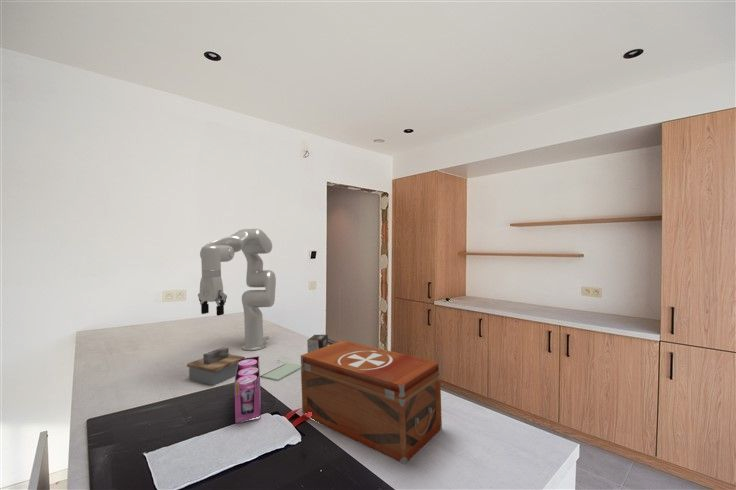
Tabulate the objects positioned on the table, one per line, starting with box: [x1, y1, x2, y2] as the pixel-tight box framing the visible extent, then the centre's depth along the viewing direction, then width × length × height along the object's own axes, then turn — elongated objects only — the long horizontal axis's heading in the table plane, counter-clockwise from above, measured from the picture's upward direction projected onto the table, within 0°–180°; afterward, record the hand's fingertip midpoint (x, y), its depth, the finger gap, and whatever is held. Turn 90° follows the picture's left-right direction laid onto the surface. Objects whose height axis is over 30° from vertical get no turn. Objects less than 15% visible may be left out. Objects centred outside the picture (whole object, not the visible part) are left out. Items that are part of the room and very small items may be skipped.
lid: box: [186, 346, 246, 373], centre depth 144 cm, size 16×16×6 cm
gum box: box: [234, 356, 262, 424], centre depth 118 cm, size 24×8×14 cm, turn 18°
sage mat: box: [260, 360, 302, 382], centre depth 150 cm, size 17×17×1 cm
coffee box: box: [306, 334, 329, 353], centre depth 145 cm, size 9×6×16 cm
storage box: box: [188, 363, 238, 387], centre depth 144 cm, size 15×15×6 cm
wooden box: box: [300, 340, 443, 465], centre depth 105 cm, size 20×41×20 cm, turn 50°
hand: (212, 314), depth 145 cm, fingers open, 9 cm apart
